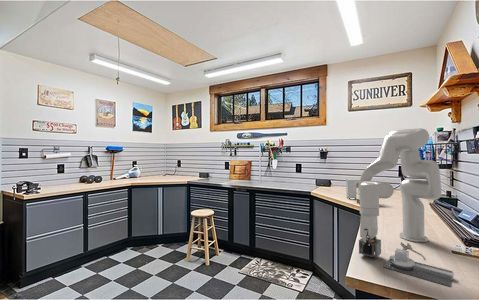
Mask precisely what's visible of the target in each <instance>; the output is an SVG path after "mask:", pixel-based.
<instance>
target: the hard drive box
mask: <svg viewBox="0 0 479 300" xmlns="http://www.w3.org/2000/svg"><path fill="white" fill-rule="evenodd" d="M359 181H360V178H346V179H345V182H346V183H345V185H346V187H345V188H346V198H347V197H348V198H356V193H357V187H356V184H357V183H359ZM348 198H347V199H348Z"/></svg>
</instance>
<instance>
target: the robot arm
mask: <svg viewBox="0 0 479 300" xmlns="http://www.w3.org/2000/svg"><path fill="white" fill-rule="evenodd" d="M429 139H430V133H429V132H428V130H427V129H425V128H423V127H422V128H421V127H420V128H419V127H417V128H407V129H406V128H405V129H394V130H392V131H390V132H389V133H388V134H387V135H386V136H384V137H383V139H382V142H381V145H380V147H379V152H378V154H377V158H376V160H375V161H374V162H372V163H370V165H368V166H367V167H366V168H365V169H364V170H363V172H362V173H361V175H360V178H359V179H360V181H359V185H358V190H359V192H360V204H359V214H360V220H359V236H360V238H362V237H363V238H362V239H363V253H364V254H368V255H371V254H372V246H371V239H373V238H375V239H378V238H377V235H378V232H379V230H378V229H379V223H378V222H379V221H378V217H379V216H380V200H381V199H385V200H386V199H389V198H391V197H392V196H393V194H394V187H393V185H392V184H391V183H390V182H386V181H379V180H378V181H377V180H372V179H373V178H374V177H375V176H376V175H378V174H380V173H384V172H386V171H388V170H392V169H394V168H396V167H397V164H398V161H399V159H400V167H401V173H402V175H403V176H404V177H407V179H404V180H402V181H401V182H400V186H399V189H400V194H401V200H402V202H401V203H402V204H401V205H402V206H401V207H402V232H400V233H398V234H399V237H400V238H401V239H403V240H406V241H410V242H416V243H426V242H428V241H429V237H427V236H426V235H425V233H426V232H425V205H424V203H423V202H422V200H423V199H424V200H437V201H438V200H439V199H440V198H441V196H442V184H441V183H442V182H441V171H440V167H439V164H438V162H437V161H435V160H431V159H421V157H420V150H419V149H420V148H423V147H424V146H425V145H427V143H428V142H429ZM409 178H410V179H409ZM412 178H413V179H412ZM423 179H425V180H423ZM421 199H422V200H421ZM368 237H370V238H368ZM367 239H368V240H369V242H368V240H367Z"/></svg>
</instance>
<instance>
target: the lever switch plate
mask: <svg viewBox="0 0 479 300" xmlns="http://www.w3.org/2000/svg"><path fill="white" fill-rule="evenodd" d="M402 249H403V248H396V249H395V250H394V255H389V259H388V260H387V261H386V262H385V263H384V265H383V268H384V269H388V270H391V271H393V272H398V273H402V274H405V275H409V276H412V277H415V278H418V279H422V280H425V281H429V282H432V283H436V284H439V285H442V286H445V287H449V288H450V287H451V282H452V281H453V280H454V273H453V271H452V270H449V269H445V268H442V267H438V266H433V265H430V264H426V263H421V262H417V261H414V260H413V259H411V258H410V254H409V253H410V250H407V249H406V250H402Z"/></svg>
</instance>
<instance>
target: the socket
mask: <svg viewBox="0 0 479 300" xmlns="http://www.w3.org/2000/svg"><path fill="white" fill-rule="evenodd" d="M367 237H368V236H367ZM362 238H363V237H360V239H359V240H358V254H360V255H363V256H366V257H370V258H375V259H378V258H379V256H380V255H381V254H382V239H378V238H377V239H375V238H373V239H371V246H372V254H371V255H368V254H364V253H363V239H362ZM368 238H370V237H368ZM367 240H368V239H367ZM368 242H369V240H368Z"/></svg>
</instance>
